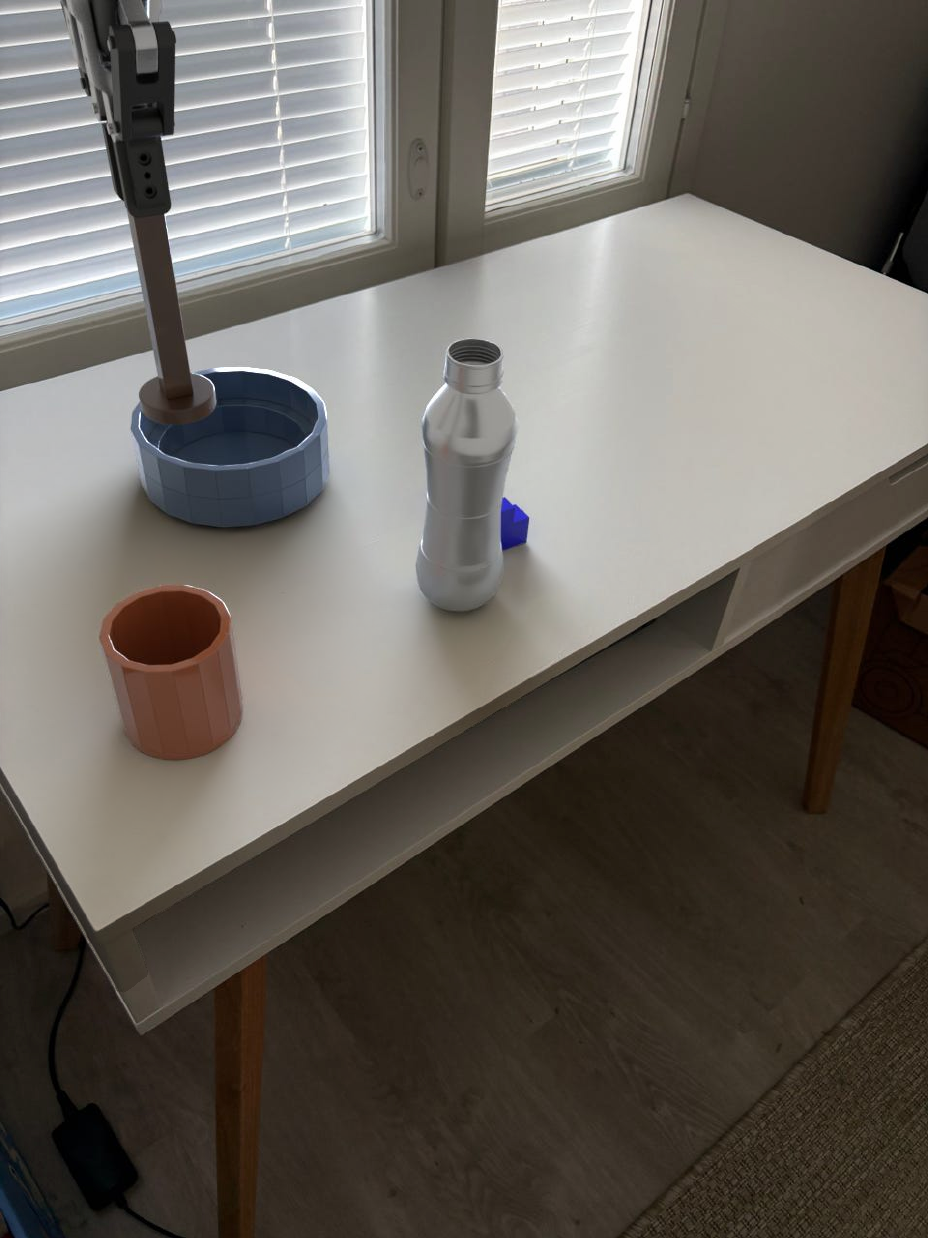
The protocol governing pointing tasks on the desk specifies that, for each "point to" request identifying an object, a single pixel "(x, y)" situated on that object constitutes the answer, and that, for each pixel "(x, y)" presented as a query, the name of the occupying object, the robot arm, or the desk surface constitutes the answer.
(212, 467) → the bowl
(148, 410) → the disc-ended square rod
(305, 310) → the desk surface
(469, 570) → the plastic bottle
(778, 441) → the desk surface
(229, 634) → the crock
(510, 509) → the cable holder
